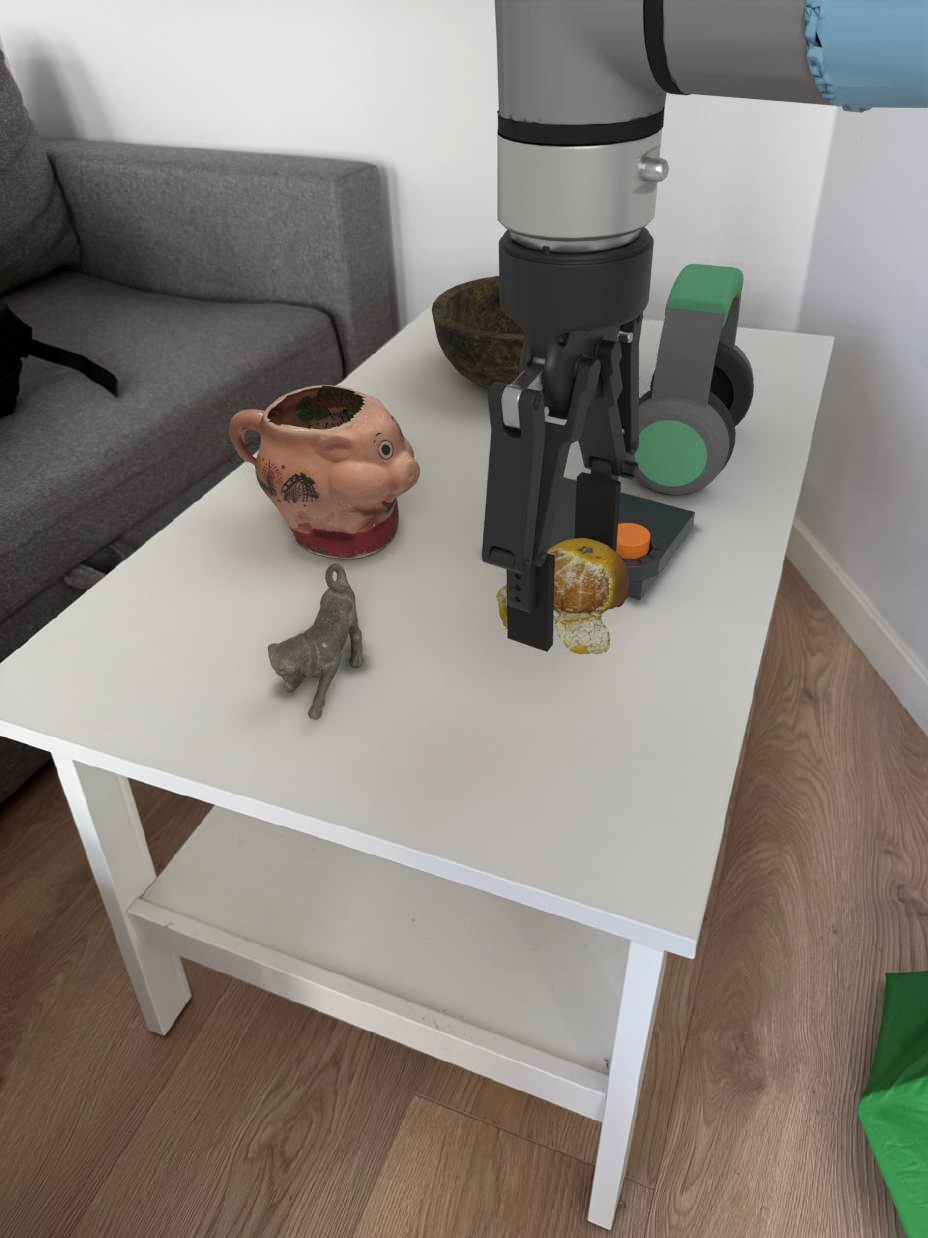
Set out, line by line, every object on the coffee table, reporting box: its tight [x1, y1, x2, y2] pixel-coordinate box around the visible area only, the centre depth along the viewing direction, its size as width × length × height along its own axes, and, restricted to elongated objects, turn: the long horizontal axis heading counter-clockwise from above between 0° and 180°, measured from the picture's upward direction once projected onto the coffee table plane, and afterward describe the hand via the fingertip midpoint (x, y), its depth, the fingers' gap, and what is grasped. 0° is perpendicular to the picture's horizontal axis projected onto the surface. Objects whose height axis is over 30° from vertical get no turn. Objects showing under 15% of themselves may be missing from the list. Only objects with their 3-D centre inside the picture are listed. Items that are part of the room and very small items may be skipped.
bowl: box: [431, 275, 525, 390], centre depth 112 cm, size 22×22×10 cm
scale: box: [548, 476, 696, 600], centre depth 86 cm, size 16×14×4 cm
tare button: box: [616, 523, 650, 559], centre depth 80 cm, size 4×4×2 cm
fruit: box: [495, 538, 629, 655], centre depth 57 cm, size 8×8×4 cm
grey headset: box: [622, 263, 755, 496], centre depth 93 cm, size 19×11×20 cm, turn 157°
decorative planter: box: [227, 384, 421, 560], centre depth 85 cm, size 20×12×14 cm, turn 71°
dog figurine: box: [267, 562, 364, 721], centre depth 71 cm, size 12×6×7 cm, turn 164°
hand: (563, 600), depth 58 cm, fingers closed on fruit, 8 cm apart
